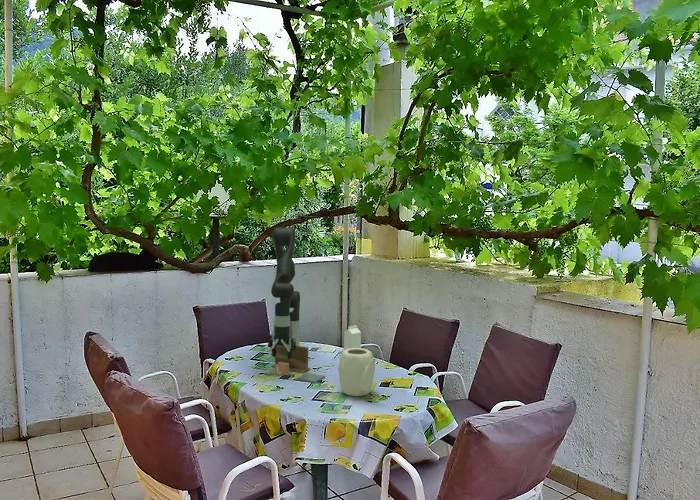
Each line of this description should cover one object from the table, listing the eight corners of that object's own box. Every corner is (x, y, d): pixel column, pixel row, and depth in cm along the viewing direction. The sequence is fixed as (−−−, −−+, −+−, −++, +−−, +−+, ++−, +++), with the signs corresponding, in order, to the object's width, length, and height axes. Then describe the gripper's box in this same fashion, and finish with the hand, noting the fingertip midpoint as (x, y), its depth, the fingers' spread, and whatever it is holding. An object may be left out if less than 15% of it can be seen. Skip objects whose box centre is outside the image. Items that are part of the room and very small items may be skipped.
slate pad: (306, 374, 285) (306, 372, 285) (325, 377, 281) (325, 375, 281) (296, 380, 276) (296, 378, 276) (314, 383, 272) (314, 381, 272)
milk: (360, 369, 296) (361, 325, 294) (351, 371, 292) (352, 327, 290) (351, 366, 300) (353, 323, 298) (342, 368, 296) (344, 325, 294)
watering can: (358, 406, 244) (359, 361, 243) (327, 387, 267) (328, 346, 265) (389, 400, 252) (391, 356, 251) (356, 382, 275) (357, 342, 273)
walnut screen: (279, 364, 300) (279, 341, 299) (310, 370, 293) (310, 346, 291) (272, 367, 295) (272, 344, 294) (304, 373, 287) (304, 348, 286)
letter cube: (280, 371, 289) (280, 361, 289) (288, 373, 287) (288, 363, 286) (274, 374, 284) (274, 364, 284) (283, 376, 282) (283, 366, 282)
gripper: (299, 324, 284) (298, 358, 285) (273, 321, 290) (273, 354, 291) (290, 327, 277) (290, 361, 278) (265, 324, 283) (264, 357, 284)
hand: (281, 357), depth 285 cm, fingers open, 8 cm apart
